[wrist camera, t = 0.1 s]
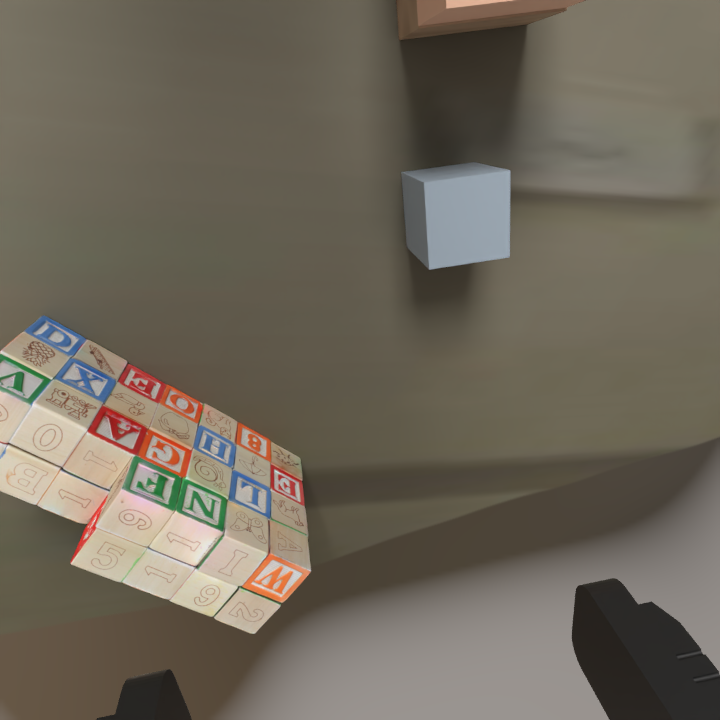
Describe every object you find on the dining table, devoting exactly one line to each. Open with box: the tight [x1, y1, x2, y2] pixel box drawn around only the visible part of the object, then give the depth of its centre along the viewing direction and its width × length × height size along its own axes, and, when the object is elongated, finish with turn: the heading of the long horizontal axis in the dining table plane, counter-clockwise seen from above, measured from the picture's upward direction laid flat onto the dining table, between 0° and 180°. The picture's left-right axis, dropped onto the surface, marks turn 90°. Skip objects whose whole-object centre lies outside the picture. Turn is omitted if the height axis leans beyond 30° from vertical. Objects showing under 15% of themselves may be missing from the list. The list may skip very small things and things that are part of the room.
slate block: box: [401, 162, 510, 270], centre depth 33 cm, size 5×5×6 cm
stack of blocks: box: [0, 315, 311, 634], centre depth 35 cm, size 21×6×12 cm, turn 51°
